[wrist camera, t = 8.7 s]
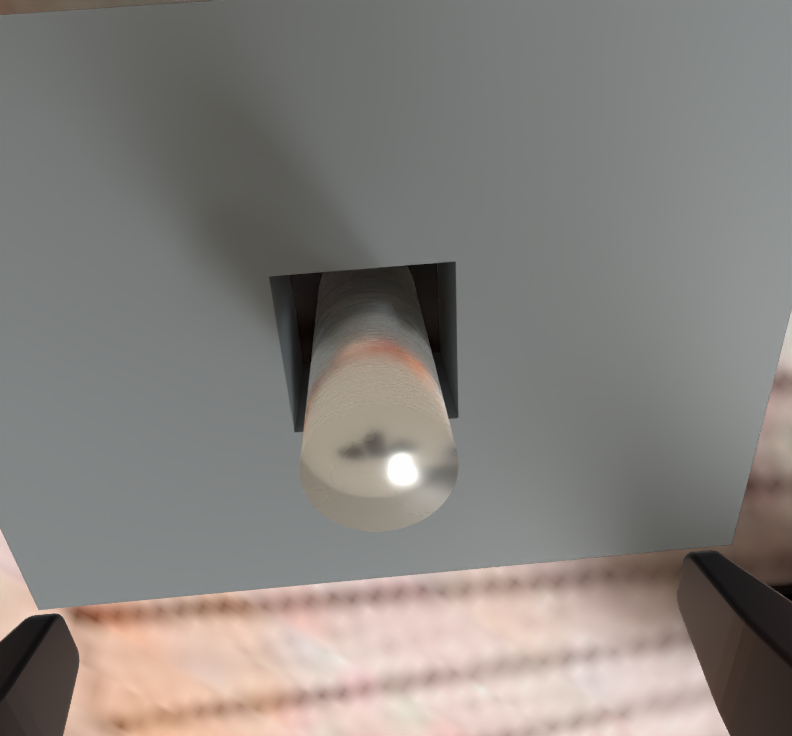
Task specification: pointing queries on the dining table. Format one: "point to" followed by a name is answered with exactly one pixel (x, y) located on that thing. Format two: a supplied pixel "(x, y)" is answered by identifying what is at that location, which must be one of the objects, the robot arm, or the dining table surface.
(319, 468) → the steel peg
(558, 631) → the dining table surface
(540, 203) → the hole block
